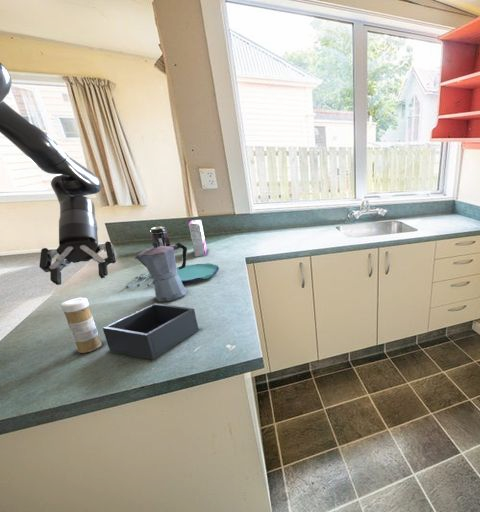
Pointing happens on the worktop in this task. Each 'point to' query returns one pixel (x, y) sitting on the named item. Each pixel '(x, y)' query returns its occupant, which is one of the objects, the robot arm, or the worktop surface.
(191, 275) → the teal oval tray
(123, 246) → the worktop surface
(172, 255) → the moka pot
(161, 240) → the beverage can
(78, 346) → the sprinkles bottle
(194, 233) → the candy bar box
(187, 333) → the open box
